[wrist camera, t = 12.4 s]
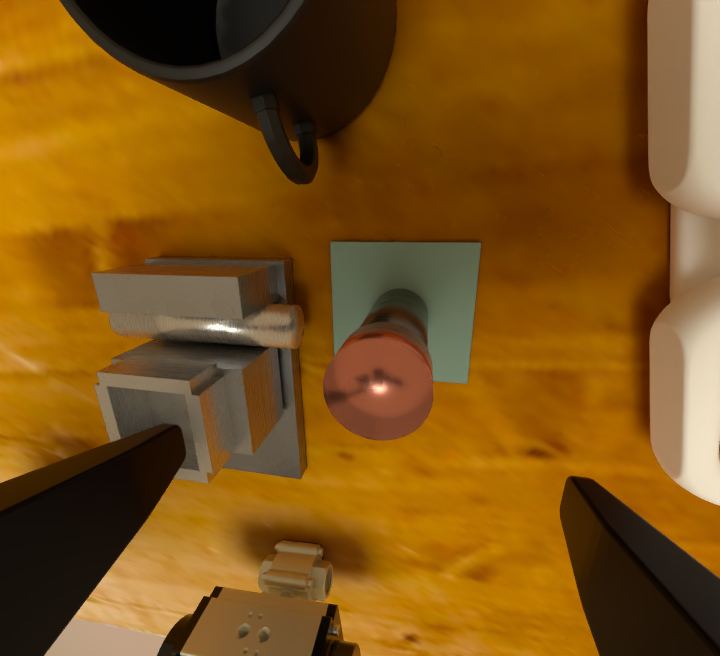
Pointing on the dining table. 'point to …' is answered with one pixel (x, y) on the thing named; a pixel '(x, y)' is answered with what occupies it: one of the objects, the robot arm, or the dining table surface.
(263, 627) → the pneumatic valve
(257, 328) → the clamp base
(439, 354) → the mat
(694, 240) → the chain
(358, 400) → the round metal peg
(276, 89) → the mug
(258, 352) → the bracket
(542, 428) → the dining table surface
